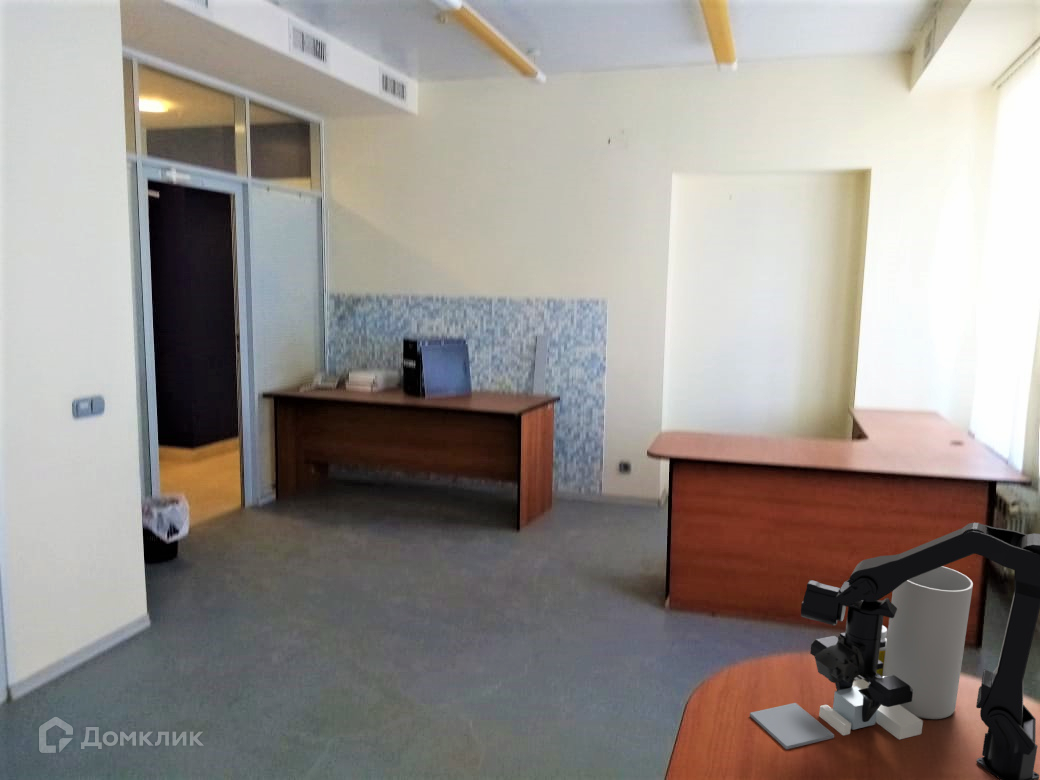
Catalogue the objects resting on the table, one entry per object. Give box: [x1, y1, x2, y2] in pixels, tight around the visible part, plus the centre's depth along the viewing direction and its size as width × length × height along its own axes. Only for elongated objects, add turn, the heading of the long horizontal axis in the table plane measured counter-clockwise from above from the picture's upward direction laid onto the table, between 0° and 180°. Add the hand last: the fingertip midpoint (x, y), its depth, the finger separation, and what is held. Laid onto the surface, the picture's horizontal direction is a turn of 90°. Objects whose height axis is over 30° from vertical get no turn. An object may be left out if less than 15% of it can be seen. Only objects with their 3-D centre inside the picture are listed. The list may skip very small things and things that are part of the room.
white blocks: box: [818, 679, 924, 740], centre depth 141 cm, size 14×14×2 cm
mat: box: [749, 702, 835, 750], centre depth 138 cm, size 10×10×1 cm
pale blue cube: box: [832, 686, 877, 731], centre depth 140 cm, size 5×5×4 cm
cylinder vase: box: [882, 566, 974, 720], centre depth 145 cm, size 12×12×25 cm
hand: (854, 712), depth 140 cm, fingers closed on pale blue cube, 5 cm apart
